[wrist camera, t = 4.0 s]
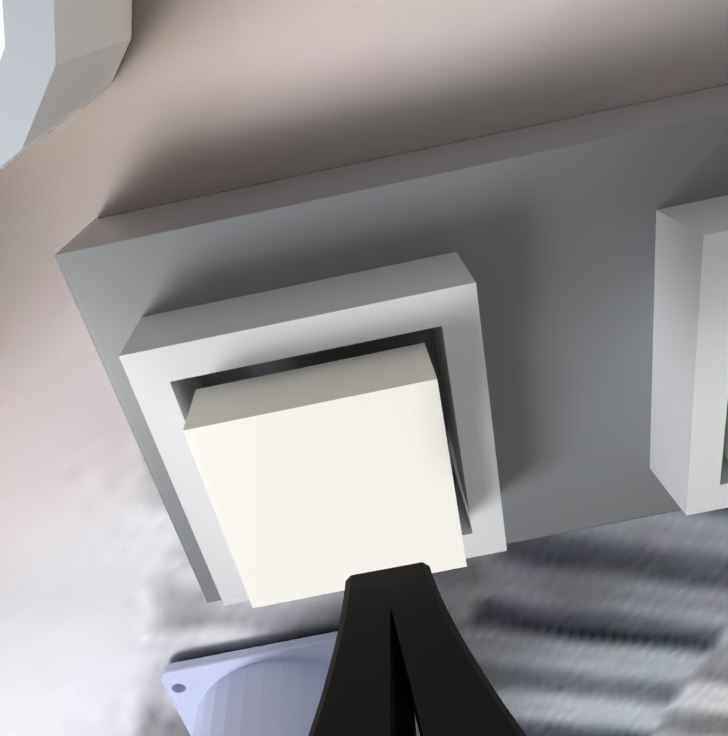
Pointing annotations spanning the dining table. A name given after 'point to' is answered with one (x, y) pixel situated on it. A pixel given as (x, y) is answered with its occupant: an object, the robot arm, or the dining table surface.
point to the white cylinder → (55, 63)
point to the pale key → (329, 472)
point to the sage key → (726, 436)
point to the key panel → (453, 313)
